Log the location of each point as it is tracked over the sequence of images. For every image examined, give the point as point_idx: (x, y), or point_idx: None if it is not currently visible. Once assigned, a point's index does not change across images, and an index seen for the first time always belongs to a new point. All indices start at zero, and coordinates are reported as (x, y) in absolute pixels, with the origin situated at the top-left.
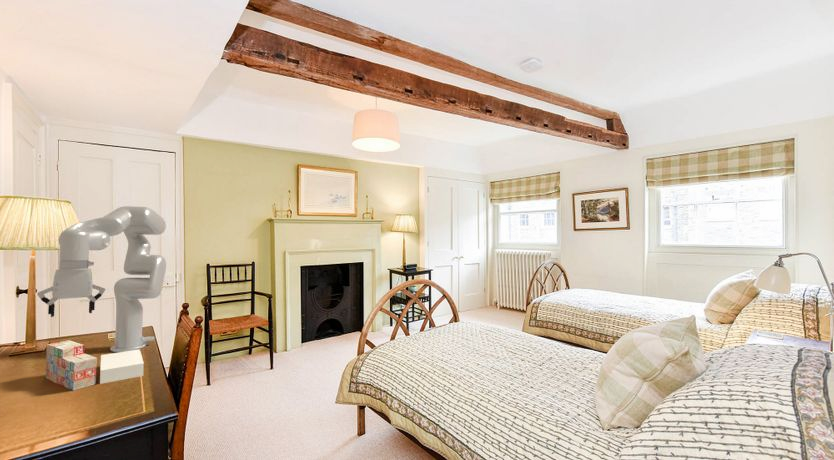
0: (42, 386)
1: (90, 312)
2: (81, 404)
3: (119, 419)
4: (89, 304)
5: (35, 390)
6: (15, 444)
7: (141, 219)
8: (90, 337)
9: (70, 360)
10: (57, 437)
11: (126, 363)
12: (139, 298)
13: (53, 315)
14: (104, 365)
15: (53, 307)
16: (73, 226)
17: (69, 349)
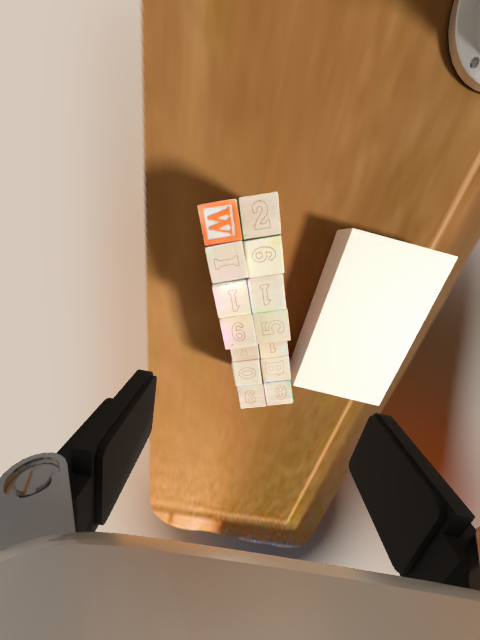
0: (203, 288)
1: (356, 471)
2: (236, 442)
3: (256, 521)
4: (388, 541)
5: (190, 306)
6: (157, 499)
7: None
8: None
9: (238, 378)
10: (193, 514)
11: (354, 377)
12: None
13: (146, 437)
14: (314, 351)
15: (108, 504)
16: None
17: (245, 345)
